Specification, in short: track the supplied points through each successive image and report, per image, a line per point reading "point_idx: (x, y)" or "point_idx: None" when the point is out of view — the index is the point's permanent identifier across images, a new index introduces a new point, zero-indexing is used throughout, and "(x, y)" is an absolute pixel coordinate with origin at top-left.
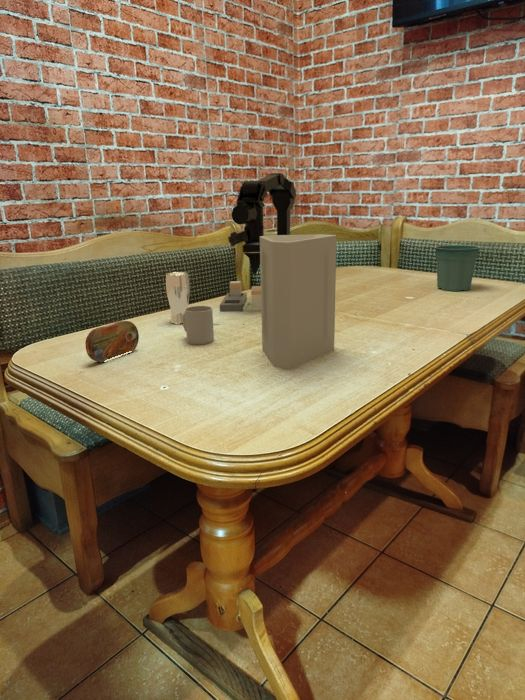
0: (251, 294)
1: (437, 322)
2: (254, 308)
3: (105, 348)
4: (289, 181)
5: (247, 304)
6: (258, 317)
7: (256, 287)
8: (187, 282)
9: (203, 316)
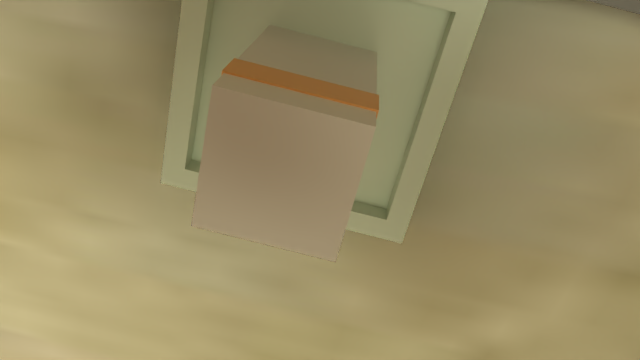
0: (233, 62)
1: None
2: (179, 42)
3: None
4: None
5: (440, 6)
6: (37, 39)
7: (248, 165)
8: None
9: None
